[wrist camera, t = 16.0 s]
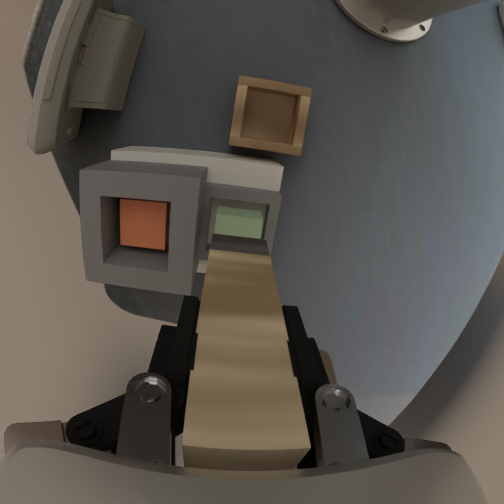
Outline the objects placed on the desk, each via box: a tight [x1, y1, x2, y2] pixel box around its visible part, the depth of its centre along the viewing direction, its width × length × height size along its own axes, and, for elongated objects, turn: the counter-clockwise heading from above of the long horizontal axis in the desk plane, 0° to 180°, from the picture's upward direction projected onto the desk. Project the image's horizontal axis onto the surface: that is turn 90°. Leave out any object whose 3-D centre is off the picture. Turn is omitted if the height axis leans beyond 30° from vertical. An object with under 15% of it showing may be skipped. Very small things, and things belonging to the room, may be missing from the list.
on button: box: [214, 206, 263, 239], centre depth 21 cm, size 3×3×2 cm
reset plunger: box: [120, 197, 171, 250], centre depth 21 cm, size 4×4×2 cm
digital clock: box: [27, 0, 146, 154], centre depth 16 cm, size 16×9×11 cm, turn 154°
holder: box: [229, 76, 312, 156], centre depth 23 cm, size 6×6×4 cm
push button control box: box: [79, 146, 284, 296], centre depth 23 cm, size 10×14×10 cm
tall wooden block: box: [182, 233, 311, 471], centre depth 11 cm, size 3×3×12 cm
